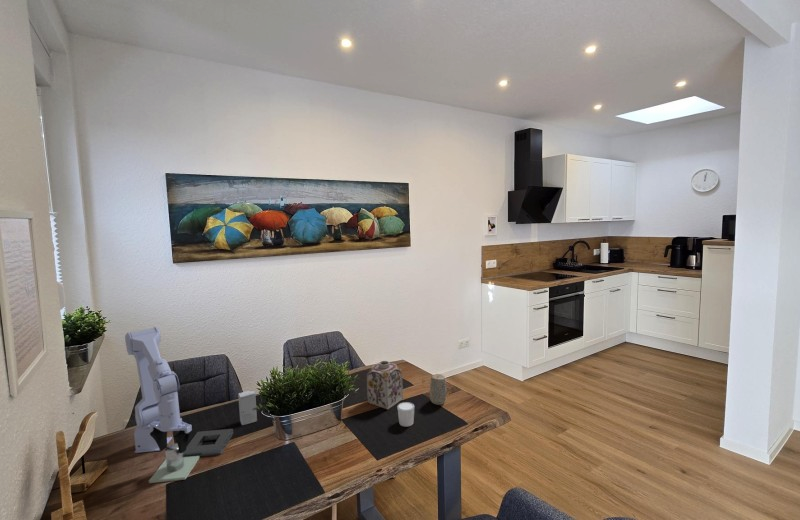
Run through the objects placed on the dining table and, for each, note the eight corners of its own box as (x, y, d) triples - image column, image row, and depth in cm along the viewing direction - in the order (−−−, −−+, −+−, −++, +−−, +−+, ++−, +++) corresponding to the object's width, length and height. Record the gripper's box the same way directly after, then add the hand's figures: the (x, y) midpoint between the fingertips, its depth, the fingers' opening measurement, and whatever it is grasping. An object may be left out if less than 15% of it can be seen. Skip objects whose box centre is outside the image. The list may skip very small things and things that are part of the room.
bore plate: (182, 457, 133) (182, 452, 132) (198, 436, 145) (197, 431, 145) (221, 454, 134) (220, 448, 134) (233, 433, 147) (232, 428, 147)
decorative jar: (383, 392, 177) (382, 355, 175) (403, 399, 170) (402, 360, 168) (366, 403, 167) (365, 364, 165) (387, 410, 160) (386, 370, 158)
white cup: (395, 425, 149) (394, 408, 148) (401, 416, 155) (401, 400, 154) (411, 428, 146) (410, 411, 145) (417, 419, 152) (416, 403, 152)
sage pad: (149, 483, 120) (148, 480, 120) (166, 461, 131) (166, 459, 131) (185, 479, 121) (185, 477, 121) (199, 457, 132) (199, 455, 132)
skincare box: (242, 426, 152) (239, 397, 151) (239, 421, 156) (237, 393, 154) (257, 421, 155) (255, 393, 154) (255, 416, 159) (253, 389, 158)
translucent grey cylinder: (163, 470, 125) (161, 450, 124) (176, 461, 130) (174, 442, 129) (175, 473, 123) (173, 453, 123) (187, 463, 128) (185, 444, 127)
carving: (443, 407, 161) (442, 380, 160) (427, 403, 165) (426, 377, 164) (449, 401, 167) (448, 375, 166) (433, 397, 171) (432, 371, 169)
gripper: (197, 407, 126) (200, 445, 128) (160, 403, 129) (164, 440, 131) (180, 418, 119) (184, 458, 121) (142, 414, 122) (147, 453, 124)
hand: (173, 450), depth 125 cm, fingers open, 7 cm apart
